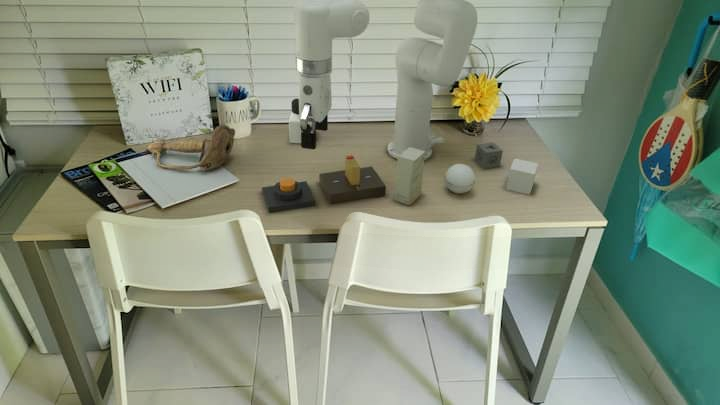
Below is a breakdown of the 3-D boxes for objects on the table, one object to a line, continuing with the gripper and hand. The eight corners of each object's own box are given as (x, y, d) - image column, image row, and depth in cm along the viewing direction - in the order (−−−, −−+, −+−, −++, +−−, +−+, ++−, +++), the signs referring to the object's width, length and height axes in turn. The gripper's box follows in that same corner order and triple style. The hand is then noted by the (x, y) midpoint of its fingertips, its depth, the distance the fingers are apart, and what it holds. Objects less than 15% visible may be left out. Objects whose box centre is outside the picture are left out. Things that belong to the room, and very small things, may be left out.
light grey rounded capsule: (440, 183, 131) (444, 158, 127) (469, 183, 131) (473, 158, 127) (447, 205, 123) (451, 178, 119) (477, 205, 123) (482, 179, 119)
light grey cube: (529, 195, 128) (534, 174, 125) (505, 189, 130) (510, 168, 127) (533, 183, 133) (538, 163, 129) (509, 178, 135) (514, 158, 131)
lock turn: (359, 184, 124) (360, 165, 121) (351, 185, 123) (352, 166, 120) (352, 173, 128) (353, 154, 125) (344, 174, 127) (345, 156, 124)
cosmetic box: (409, 206, 122) (414, 161, 115) (393, 200, 124) (396, 156, 117) (421, 194, 126) (426, 151, 120) (405, 189, 128) (409, 145, 122)
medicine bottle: (314, 144, 147) (313, 105, 141) (289, 143, 147) (287, 104, 140) (316, 133, 153) (315, 95, 146) (292, 132, 153) (291, 94, 146)
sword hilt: (211, 159, 125) (232, 115, 133) (120, 146, 128) (146, 104, 137) (221, 184, 133) (241, 141, 141) (136, 171, 137) (160, 130, 145)
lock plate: (371, 176, 133) (372, 165, 131) (385, 196, 125) (386, 185, 123) (319, 183, 129) (319, 173, 127) (330, 205, 121) (330, 193, 120)
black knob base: (306, 186, 128) (306, 174, 126) (315, 206, 121) (315, 193, 119) (262, 193, 125) (261, 180, 123) (268, 213, 118) (267, 200, 116)
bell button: (293, 183, 123) (293, 177, 122) (296, 191, 120) (296, 184, 119) (278, 185, 122) (278, 179, 121) (281, 193, 119) (281, 187, 118)
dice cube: (499, 166, 140) (502, 150, 137) (483, 169, 138) (486, 152, 135) (490, 158, 143) (493, 142, 141) (474, 160, 142) (477, 144, 139)
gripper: (320, 80, 99) (320, 158, 108) (341, 54, 113) (340, 125, 123) (283, 76, 100) (286, 153, 109) (308, 50, 114) (309, 121, 124)
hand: (314, 138), depth 116 cm, fingers open, 9 cm apart
